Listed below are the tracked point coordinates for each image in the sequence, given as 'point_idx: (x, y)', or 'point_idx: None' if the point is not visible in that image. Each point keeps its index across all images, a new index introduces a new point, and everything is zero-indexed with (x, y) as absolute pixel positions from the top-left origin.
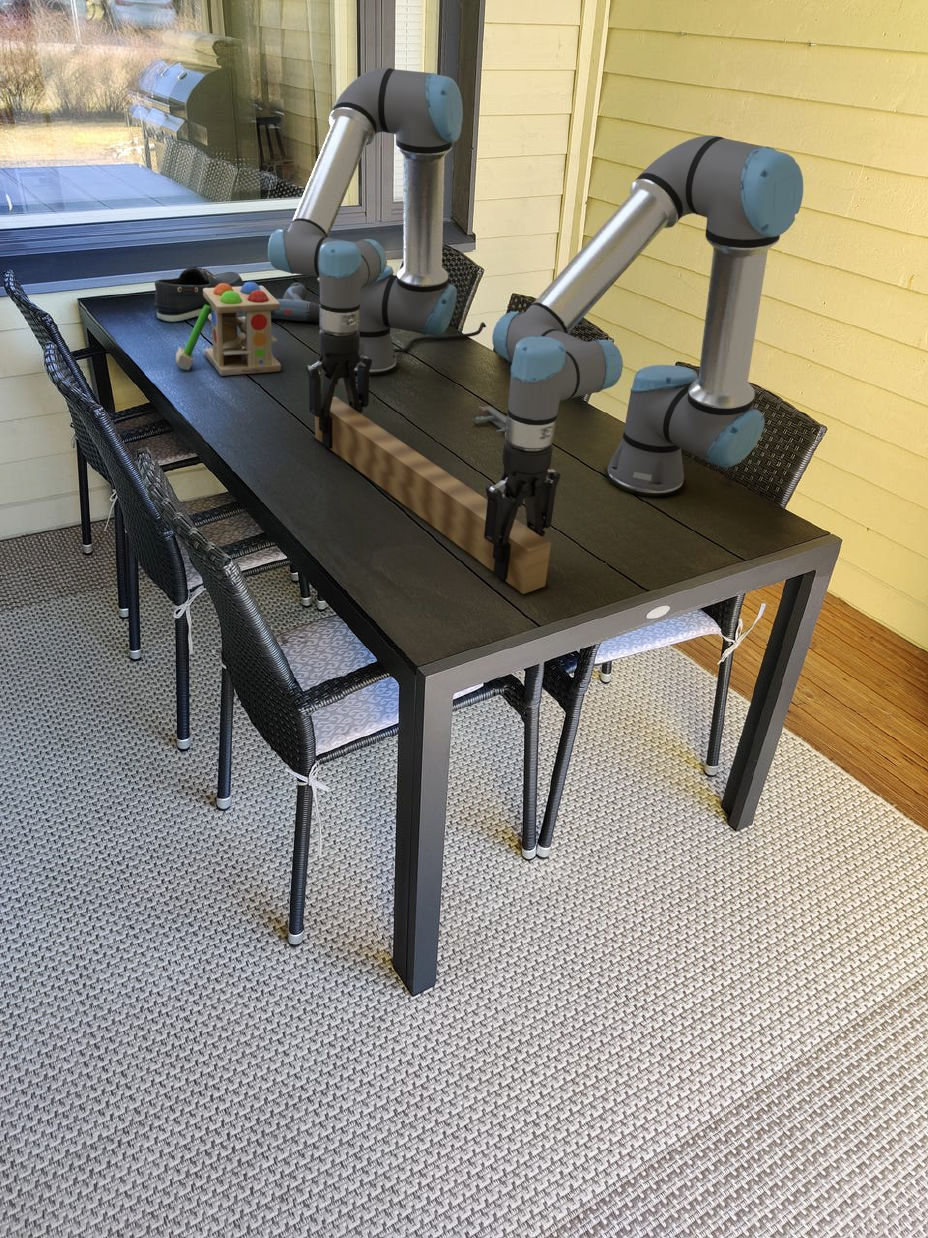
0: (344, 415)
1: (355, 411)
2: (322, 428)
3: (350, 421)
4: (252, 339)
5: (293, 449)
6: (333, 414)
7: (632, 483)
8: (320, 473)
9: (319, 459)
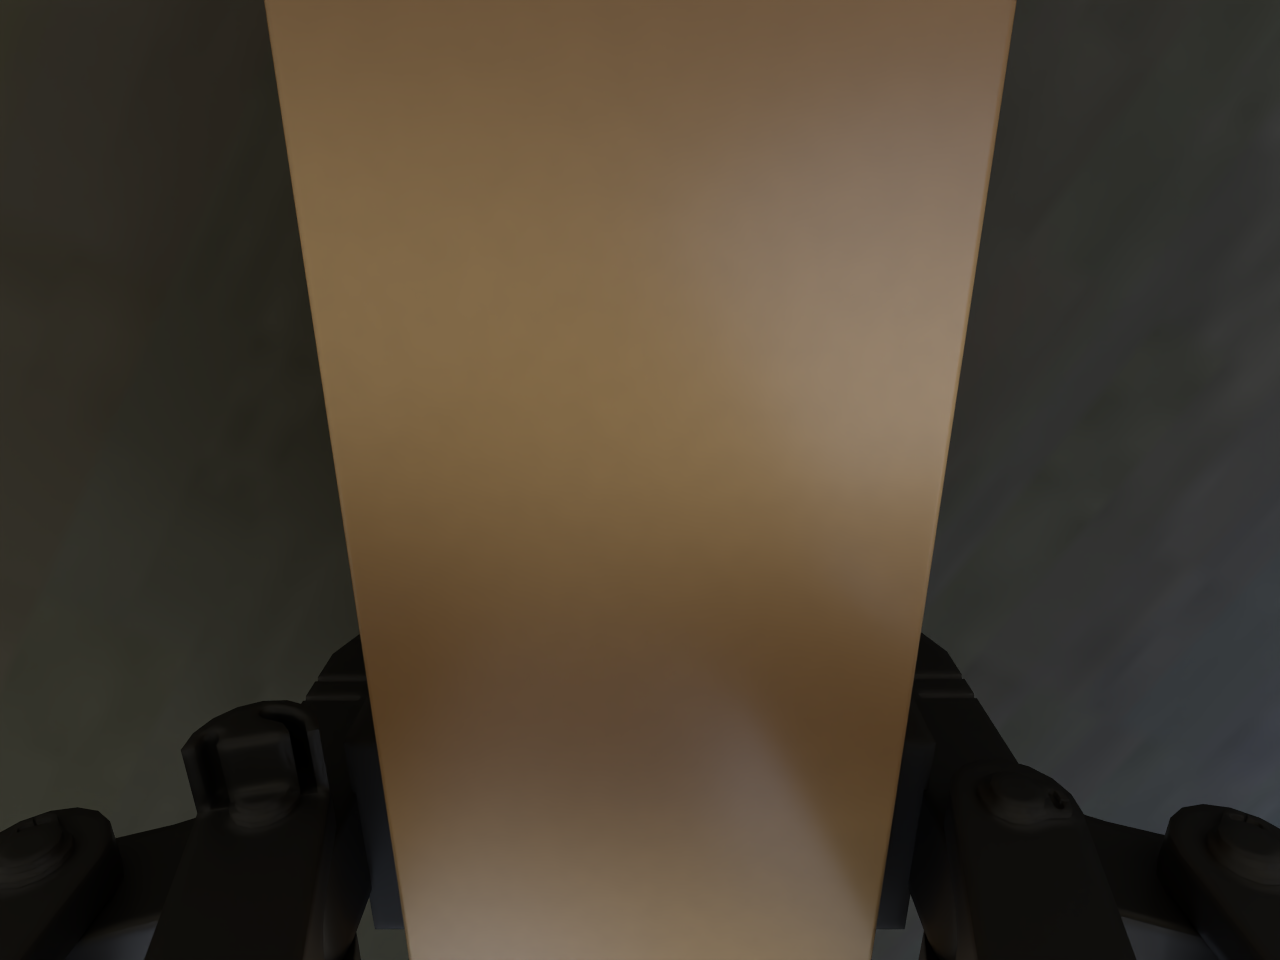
0: (750, 616)
1: (405, 688)
2: (958, 672)
3: (835, 245)
4: None
5: (1046, 683)
6: (896, 766)
7: None
8: (1225, 60)
9: (984, 395)
